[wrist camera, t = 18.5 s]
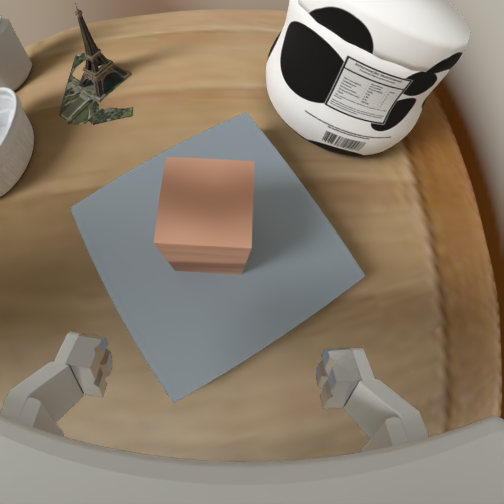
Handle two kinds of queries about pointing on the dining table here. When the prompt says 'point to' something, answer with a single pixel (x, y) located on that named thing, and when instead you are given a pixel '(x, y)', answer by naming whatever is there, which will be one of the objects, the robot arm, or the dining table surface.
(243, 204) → the terracotta block
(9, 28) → the can
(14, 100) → the ramekin
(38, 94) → the dining table surface
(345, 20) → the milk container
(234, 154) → the plinth
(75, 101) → the eiffel tower figurine
